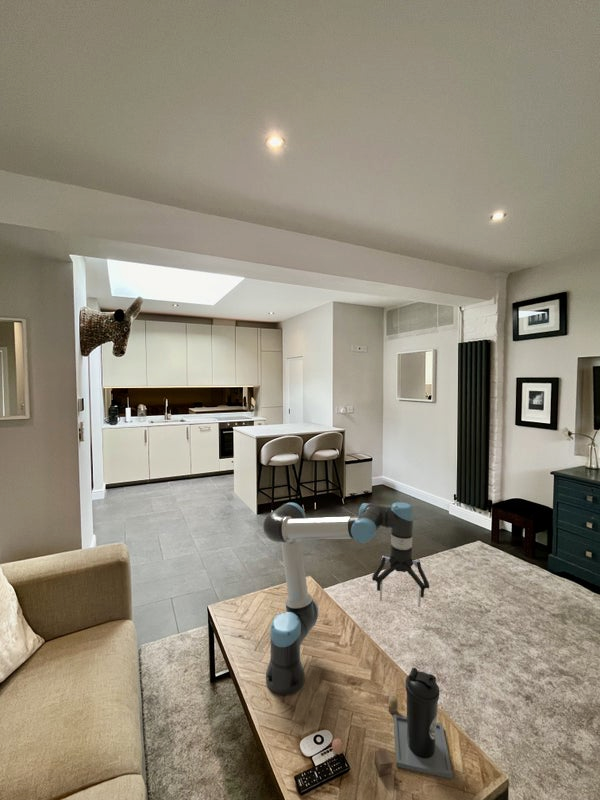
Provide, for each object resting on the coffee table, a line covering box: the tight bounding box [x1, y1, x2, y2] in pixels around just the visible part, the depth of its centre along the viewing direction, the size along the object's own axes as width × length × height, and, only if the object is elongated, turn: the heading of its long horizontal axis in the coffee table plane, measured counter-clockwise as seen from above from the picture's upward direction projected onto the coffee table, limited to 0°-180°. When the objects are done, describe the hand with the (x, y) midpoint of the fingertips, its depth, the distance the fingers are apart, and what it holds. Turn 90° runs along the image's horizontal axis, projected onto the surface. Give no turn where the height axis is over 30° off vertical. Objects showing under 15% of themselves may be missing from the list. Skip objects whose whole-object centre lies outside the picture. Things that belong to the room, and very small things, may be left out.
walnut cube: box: [374, 748, 393, 778], centre depth 105 cm, size 4×4×4 cm
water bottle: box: [405, 667, 440, 759], centre depth 112 cm, size 10×10×23 cm
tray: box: [392, 714, 454, 780], centre depth 112 cm, size 16×16×1 cm
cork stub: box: [388, 695, 399, 716], centre depth 124 cm, size 3×3×4 cm
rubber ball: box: [331, 737, 344, 755], centre depth 110 cm, size 4×4×4 cm
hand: (399, 601), depth 129 cm, fingers open, 13 cm apart
